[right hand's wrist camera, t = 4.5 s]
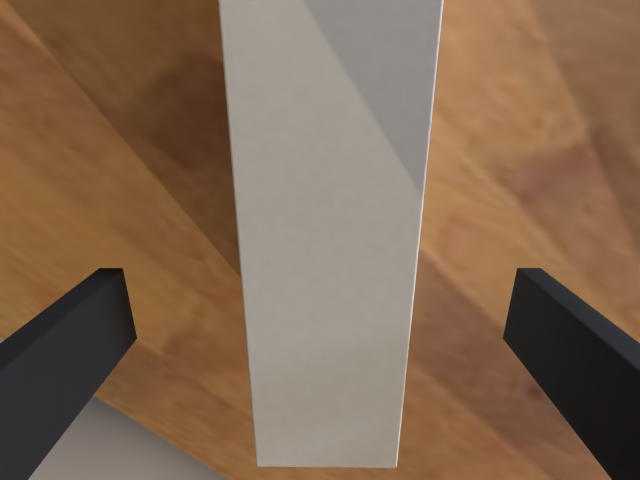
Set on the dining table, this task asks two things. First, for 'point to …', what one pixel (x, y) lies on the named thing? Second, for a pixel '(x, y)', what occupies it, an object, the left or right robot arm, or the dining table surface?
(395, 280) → the post
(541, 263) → the dining table surface
